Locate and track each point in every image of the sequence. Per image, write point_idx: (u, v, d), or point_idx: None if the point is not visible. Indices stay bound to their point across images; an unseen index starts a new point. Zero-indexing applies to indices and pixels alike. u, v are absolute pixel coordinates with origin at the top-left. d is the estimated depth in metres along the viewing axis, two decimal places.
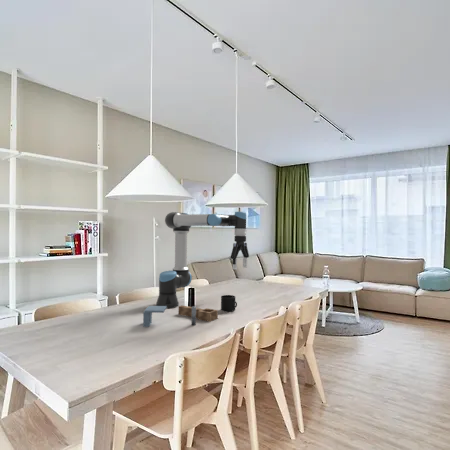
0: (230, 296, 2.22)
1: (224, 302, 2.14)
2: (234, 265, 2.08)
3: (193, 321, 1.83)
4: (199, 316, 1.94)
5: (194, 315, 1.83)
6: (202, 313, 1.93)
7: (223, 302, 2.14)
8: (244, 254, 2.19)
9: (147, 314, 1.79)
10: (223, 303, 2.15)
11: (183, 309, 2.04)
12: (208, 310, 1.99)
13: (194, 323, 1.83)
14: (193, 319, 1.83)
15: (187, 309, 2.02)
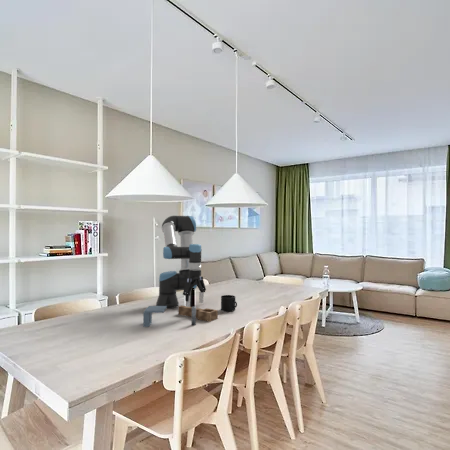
0: (230, 296, 2.22)
1: (224, 302, 2.14)
2: (187, 302, 1.95)
3: (193, 321, 1.83)
4: (199, 316, 1.94)
5: (194, 315, 1.83)
6: (202, 313, 1.93)
7: (223, 302, 2.14)
8: (200, 289, 2.06)
9: (147, 314, 1.79)
10: (223, 303, 2.15)
11: (183, 309, 2.04)
12: (208, 310, 1.99)
13: (194, 323, 1.83)
14: (193, 319, 1.83)
15: (187, 309, 2.02)
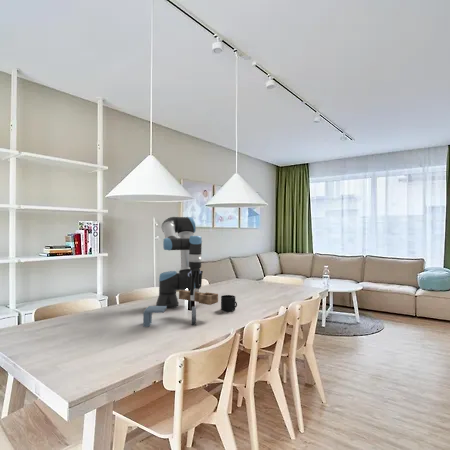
0: (230, 296, 2.22)
1: (224, 302, 2.14)
2: (192, 296, 2.00)
3: (193, 321, 1.83)
4: (199, 300, 1.95)
5: (194, 315, 1.83)
6: (202, 296, 1.93)
7: (223, 302, 2.14)
8: (196, 283, 2.03)
9: (147, 314, 1.79)
10: (223, 303, 2.15)
11: (183, 293, 2.04)
12: (208, 294, 1.99)
13: (194, 323, 1.83)
14: (193, 319, 1.83)
15: (187, 293, 2.02)
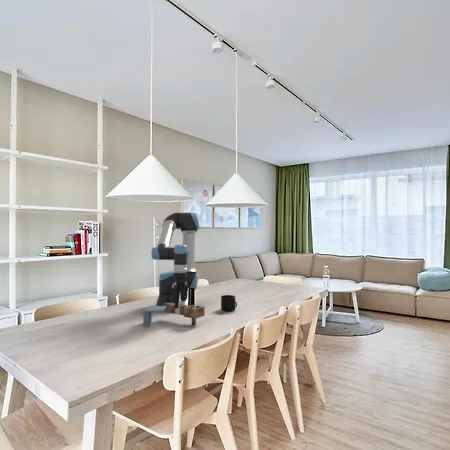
0: (230, 296, 2.22)
1: (224, 302, 2.14)
2: (177, 309, 1.87)
3: (193, 321, 1.83)
4: (185, 313, 1.82)
5: None
6: (188, 310, 1.81)
7: (223, 302, 2.14)
8: (182, 295, 1.91)
9: (147, 314, 1.79)
10: (223, 303, 2.15)
11: (168, 306, 1.91)
12: None
13: (194, 323, 1.83)
14: (193, 319, 1.83)
15: (172, 306, 1.90)
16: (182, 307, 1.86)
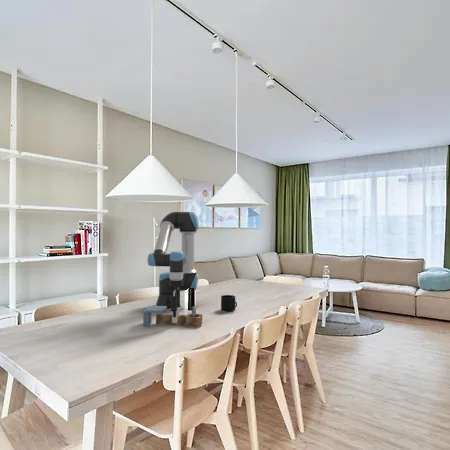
0: (230, 296, 2.22)
1: (224, 302, 2.14)
2: (174, 318, 1.81)
3: None
4: (187, 323, 1.80)
5: (194, 315, 1.83)
6: (191, 319, 1.80)
7: (223, 302, 2.14)
8: (177, 303, 1.88)
9: (147, 314, 1.79)
10: (223, 303, 2.15)
11: (163, 318, 1.83)
12: None
13: None
14: None
15: (168, 317, 1.83)
16: (181, 317, 1.83)
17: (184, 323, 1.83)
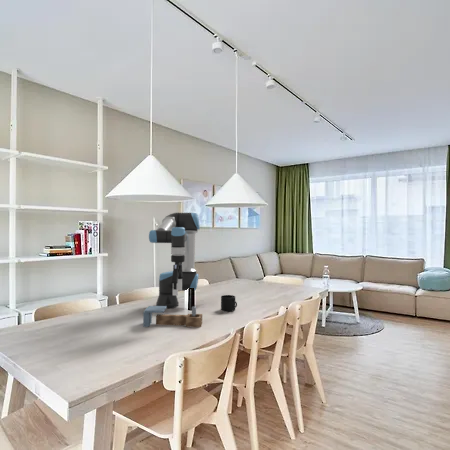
0: (230, 296, 2.22)
1: (224, 302, 2.14)
2: (175, 290, 1.78)
3: None
4: (187, 323, 1.80)
5: (194, 315, 1.83)
6: (191, 319, 1.80)
7: (223, 302, 2.14)
8: (179, 275, 1.91)
9: (147, 314, 1.79)
10: (223, 303, 2.15)
11: (163, 318, 1.83)
12: None
13: None
14: None
15: (168, 317, 1.83)
16: (181, 317, 1.83)
17: (184, 323, 1.83)
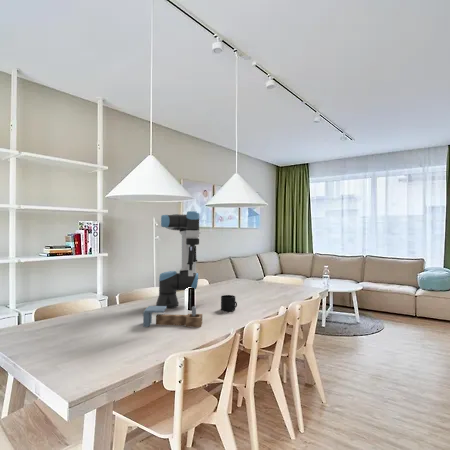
0: (230, 296, 2.22)
1: (224, 302, 2.14)
2: (190, 271, 1.85)
3: None
4: (187, 323, 1.80)
5: (194, 315, 1.83)
6: (191, 319, 1.80)
7: (223, 302, 2.14)
8: (193, 258, 1.98)
9: (147, 314, 1.79)
10: (223, 303, 2.15)
11: (163, 318, 1.83)
12: None
13: None
14: None
15: (168, 317, 1.83)
16: (181, 317, 1.83)
17: (184, 323, 1.83)
